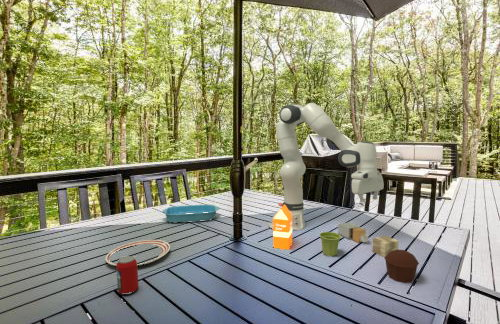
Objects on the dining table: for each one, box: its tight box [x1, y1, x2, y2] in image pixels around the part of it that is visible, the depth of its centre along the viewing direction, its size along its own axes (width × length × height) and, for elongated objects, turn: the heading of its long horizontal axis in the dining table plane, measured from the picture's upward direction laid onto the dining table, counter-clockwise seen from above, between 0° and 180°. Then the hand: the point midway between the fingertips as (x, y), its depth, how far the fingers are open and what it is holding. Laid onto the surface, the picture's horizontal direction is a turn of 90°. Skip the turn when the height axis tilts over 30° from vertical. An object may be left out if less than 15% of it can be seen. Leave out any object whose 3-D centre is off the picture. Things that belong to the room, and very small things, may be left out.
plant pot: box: [319, 231, 342, 257], centre depth 128 cm, size 9×9×9 cm
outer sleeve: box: [337, 222, 361, 241], centre depth 149 cm, size 7×8×6 cm
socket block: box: [372, 235, 400, 258], centre depth 127 cm, size 8×7×6 cm
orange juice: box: [272, 204, 293, 251], centre depth 137 cm, size 8×9×20 cm
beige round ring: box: [105, 239, 171, 267], centre depth 128 cm, size 27×27×3 cm
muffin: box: [383, 249, 420, 284], centre depth 106 cm, size 12×11×10 cm
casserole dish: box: [162, 204, 220, 223], centre depth 185 cm, size 37×22×7 cm, turn 101°
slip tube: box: [337, 224, 369, 243], centre depth 147 cm, size 4×19×6 cm, turn 22°
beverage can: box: [115, 256, 139, 294], centre depth 99 cm, size 7×7×12 cm
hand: (368, 200), depth 141 cm, fingers open, 8 cm apart
